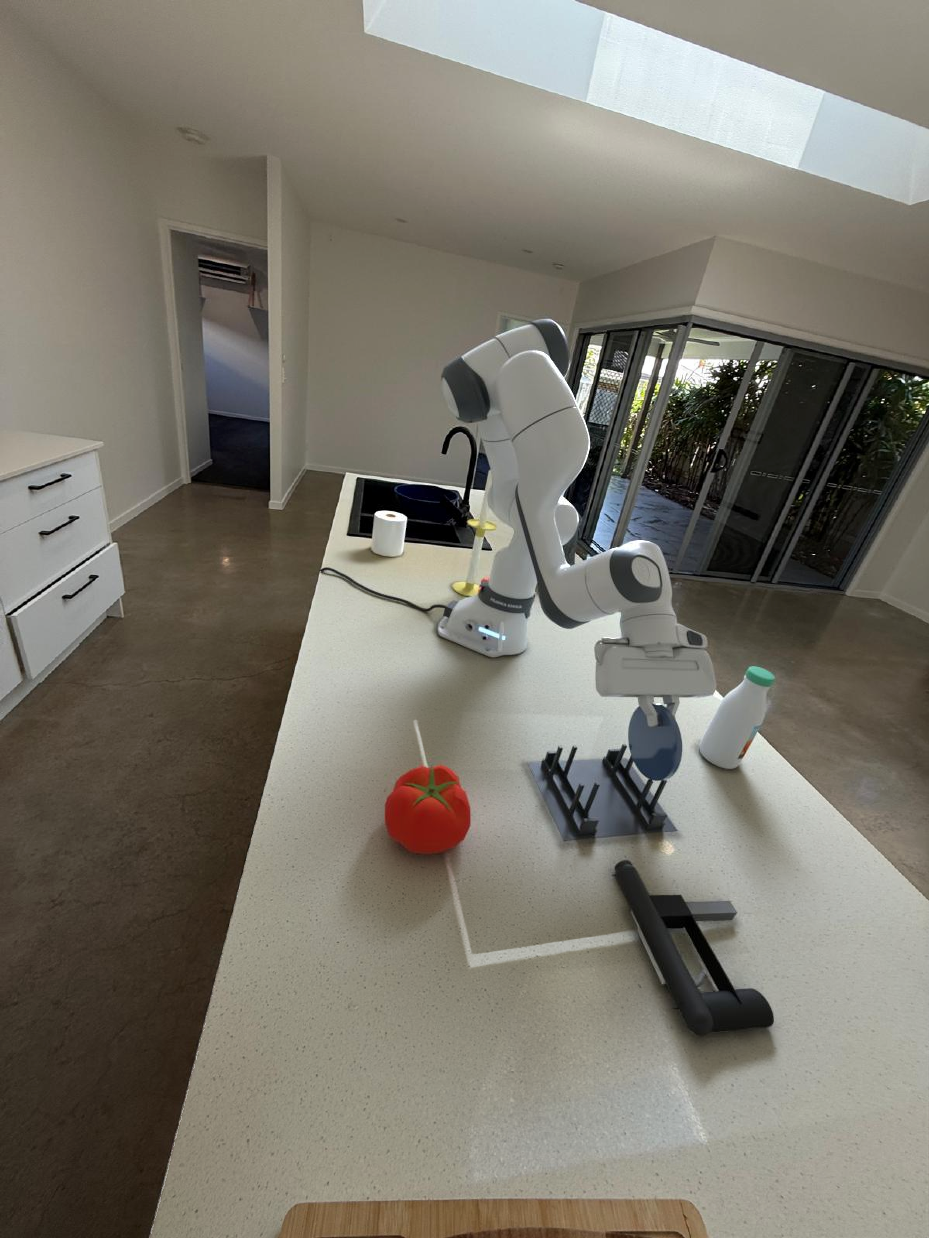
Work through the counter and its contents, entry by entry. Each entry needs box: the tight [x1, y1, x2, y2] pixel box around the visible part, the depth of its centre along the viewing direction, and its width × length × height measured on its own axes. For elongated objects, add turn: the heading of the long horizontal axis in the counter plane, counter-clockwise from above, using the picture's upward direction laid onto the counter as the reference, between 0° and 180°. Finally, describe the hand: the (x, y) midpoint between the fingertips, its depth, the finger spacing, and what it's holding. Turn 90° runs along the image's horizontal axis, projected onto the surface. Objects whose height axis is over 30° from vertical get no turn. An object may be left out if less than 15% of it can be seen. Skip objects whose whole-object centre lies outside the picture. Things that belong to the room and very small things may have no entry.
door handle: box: [611, 859, 775, 1037], centre depth 64 cm, size 3×20×16 cm
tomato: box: [384, 764, 472, 855], centre depth 71 cm, size 13×12×8 cm
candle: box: [452, 469, 498, 598], centre depth 143 cm, size 10×10×38 cm
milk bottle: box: [698, 665, 776, 770], centre depth 96 cm, size 8×8×20 cm
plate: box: [627, 702, 683, 782], centre depth 80 cm, size 12×1×12 cm, turn 14°
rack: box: [526, 743, 678, 842], centre depth 83 cm, size 16×20×8 cm
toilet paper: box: [370, 510, 408, 558], centre depth 164 cm, size 10×10×12 cm
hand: (662, 726), depth 78 cm, fingers closed on plate, 1 cm apart
